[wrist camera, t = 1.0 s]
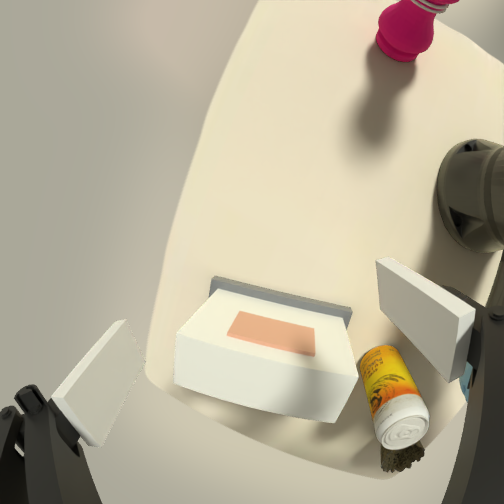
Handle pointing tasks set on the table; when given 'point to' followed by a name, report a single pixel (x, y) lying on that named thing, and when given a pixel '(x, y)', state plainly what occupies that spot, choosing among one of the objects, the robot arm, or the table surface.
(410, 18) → the pepper mill
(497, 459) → the robot arm
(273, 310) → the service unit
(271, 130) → the table surface
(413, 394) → the beer can
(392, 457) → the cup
